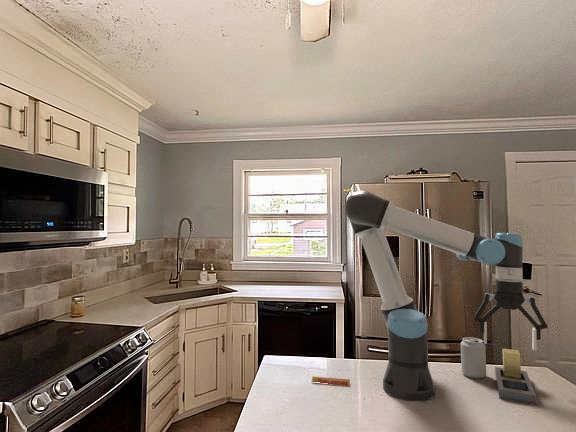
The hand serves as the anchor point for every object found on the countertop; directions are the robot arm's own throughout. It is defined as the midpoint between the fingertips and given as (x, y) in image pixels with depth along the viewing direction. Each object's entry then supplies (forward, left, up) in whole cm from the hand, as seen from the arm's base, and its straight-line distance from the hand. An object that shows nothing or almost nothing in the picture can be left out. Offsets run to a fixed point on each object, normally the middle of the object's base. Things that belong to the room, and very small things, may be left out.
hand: (509, 346), depth 117 cm
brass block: (0, 0, -12) cm, 12 cm away
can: (-11, +2, -12) cm, 16 cm away
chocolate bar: (-52, -26, -12) cm, 59 cm away
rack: (0, -4, -11) cm, 12 cm away
